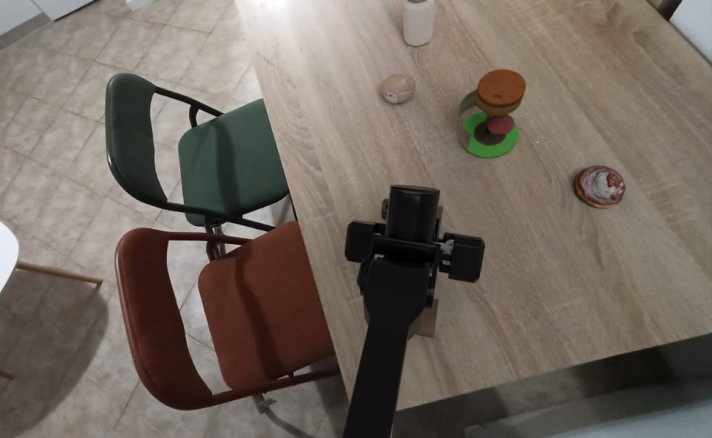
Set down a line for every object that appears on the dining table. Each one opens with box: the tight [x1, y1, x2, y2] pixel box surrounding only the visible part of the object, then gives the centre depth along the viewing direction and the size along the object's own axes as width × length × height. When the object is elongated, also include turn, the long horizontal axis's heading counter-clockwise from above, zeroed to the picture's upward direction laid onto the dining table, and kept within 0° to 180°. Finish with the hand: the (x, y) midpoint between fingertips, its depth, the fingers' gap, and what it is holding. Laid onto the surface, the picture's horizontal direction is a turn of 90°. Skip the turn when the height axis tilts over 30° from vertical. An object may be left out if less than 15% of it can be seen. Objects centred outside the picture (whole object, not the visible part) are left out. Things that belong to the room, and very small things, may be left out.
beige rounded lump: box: [380, 73, 416, 104], centre depth 93 cm, size 7×6×8 cm
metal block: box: [415, 298, 440, 339], centre depth 76 cm, size 6×10×4 cm, turn 74°
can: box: [402, 0, 436, 47], centre depth 96 cm, size 6×6×12 cm
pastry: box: [573, 165, 626, 209], centre depth 75 cm, size 8×8×5 cm
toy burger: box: [455, 68, 527, 159], centre depth 80 cm, size 12×13×15 cm
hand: (415, 237), depth 71 cm, fingers closed on bin, 7 cm apart
